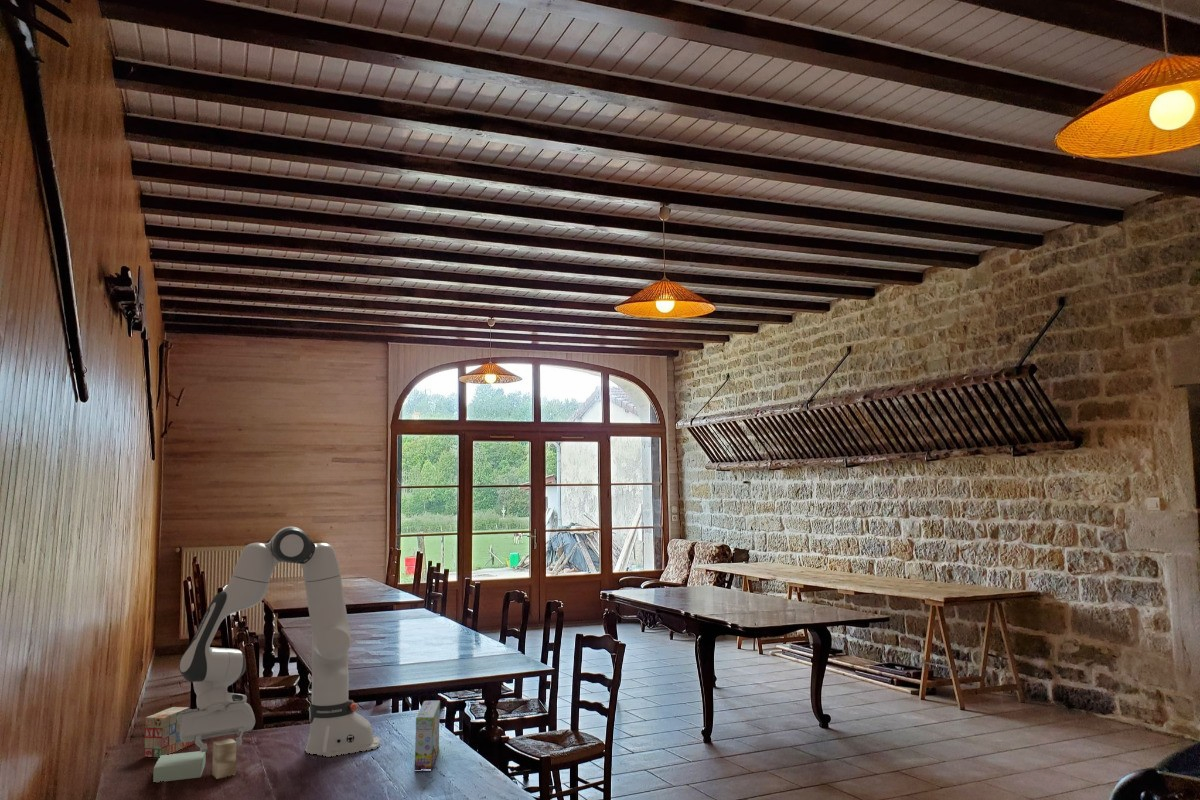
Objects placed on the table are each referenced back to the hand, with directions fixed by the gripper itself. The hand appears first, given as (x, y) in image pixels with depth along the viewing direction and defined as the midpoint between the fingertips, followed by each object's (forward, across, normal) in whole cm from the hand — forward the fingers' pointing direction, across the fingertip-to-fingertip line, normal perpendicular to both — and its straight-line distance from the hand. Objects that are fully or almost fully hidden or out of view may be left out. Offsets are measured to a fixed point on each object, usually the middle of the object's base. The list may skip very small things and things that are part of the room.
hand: (222, 747), depth 240 cm
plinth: (0, -9, +10) cm, 14 cm away
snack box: (+26, +50, -16) cm, 59 cm away
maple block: (+6, 0, +4) cm, 7 cm away
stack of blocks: (-20, -4, +31) cm, 37 cm away
